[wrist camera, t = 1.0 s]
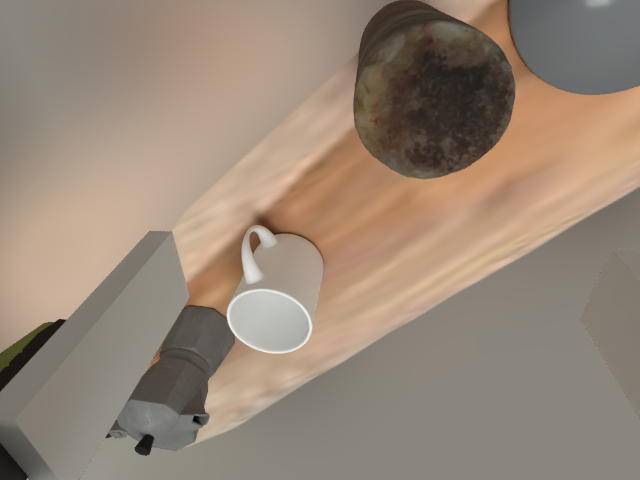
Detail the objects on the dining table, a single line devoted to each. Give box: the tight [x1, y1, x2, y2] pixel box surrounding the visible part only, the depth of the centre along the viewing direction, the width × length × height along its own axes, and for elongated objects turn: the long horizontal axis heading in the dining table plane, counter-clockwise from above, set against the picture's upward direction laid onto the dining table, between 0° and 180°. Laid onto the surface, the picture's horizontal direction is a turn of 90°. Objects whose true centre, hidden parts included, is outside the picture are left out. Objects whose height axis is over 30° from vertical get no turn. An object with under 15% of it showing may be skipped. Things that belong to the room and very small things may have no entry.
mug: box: [227, 225, 323, 353], centre depth 43 cm, size 9×12×11 cm
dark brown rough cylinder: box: [354, 0, 515, 179], centre depth 26 cm, size 8×7×20 cm
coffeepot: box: [105, 306, 235, 456], centre depth 49 cm, size 15×9×18 cm, turn 109°
